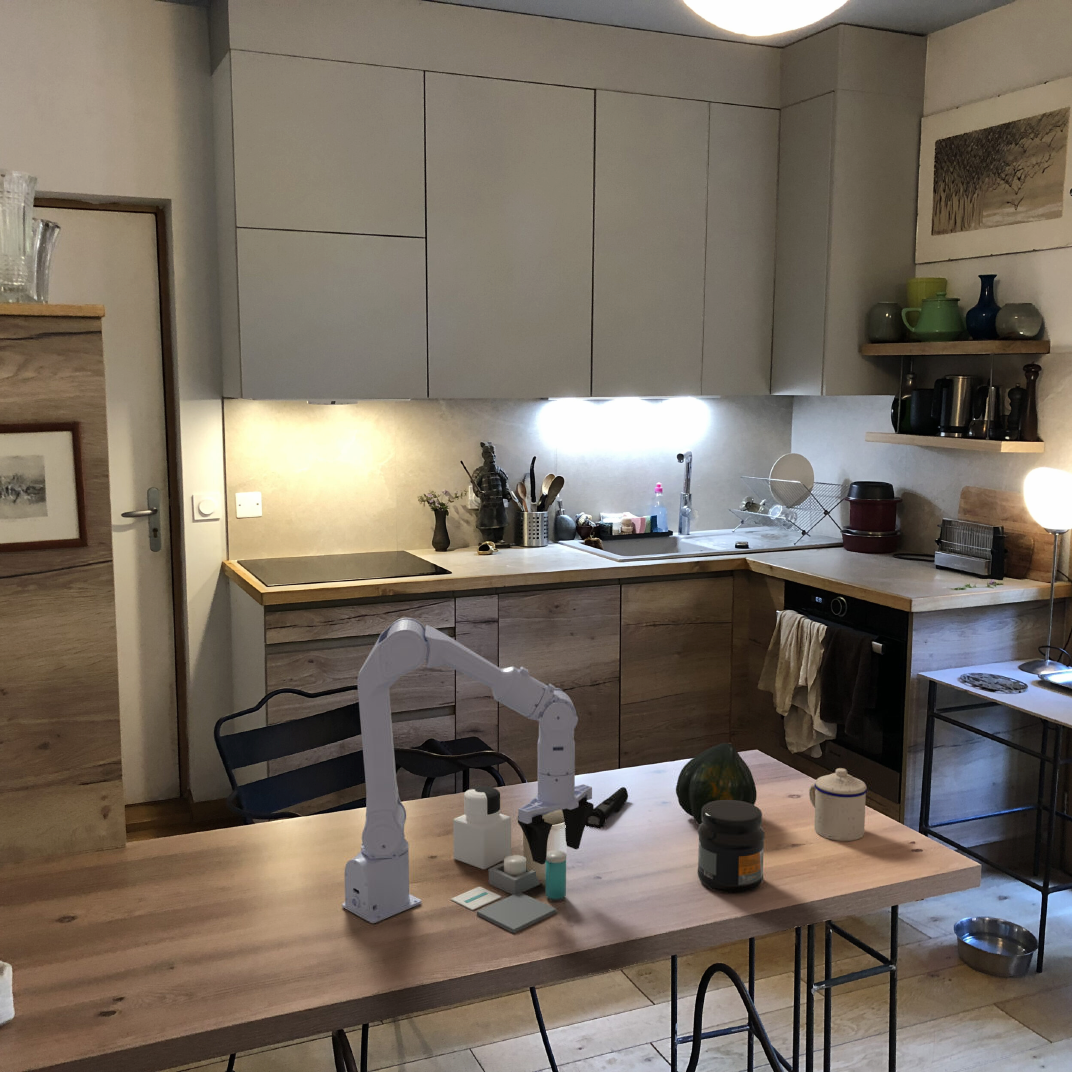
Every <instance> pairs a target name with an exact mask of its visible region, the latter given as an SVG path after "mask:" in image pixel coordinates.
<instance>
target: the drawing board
mask: <svg viewBox="0 0 1072 1072" xmlns="http://www.w3.org/2000/svg"><path fill="white" fill-rule="evenodd" d="M556 913H557V908H555V907H553V906H551V905H549V904H547V903H545V902H542V901H541V900H539V899H535V898H533V897H532V896H529V895H527V894H525V893H524V892H522V893H521V892H518V893H516V894H514V895H512V894H511V895H509V896H508V897H506V898H502V899H501V900H499V901H496V902H494V903H491V904H489V905H487V906H485V907H483V908H479V909H478V910H476V916H478V917H479V918H483V920H486V921H488V922H490V923H493V924H494V925H496V926H498V927H501V928H502V929H504V930H506V931H509V932H511V933H512V934H515V933H517V932H520V931H521V930H524V929H526V928H528V927H529V926H532V925H534V924H536V923H538V922H540V921H542V920H544V919H546V918H548V917H550V916H552V915H554V914H556Z"/></svg>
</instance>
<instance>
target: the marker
mask: <svg viewBox="0 0 1072 1072" xmlns="http://www.w3.org/2000/svg"><path fill="white" fill-rule="evenodd" d="M544 866H545V871H544V872H545V878H544V879H545V880H544V881H545V882H544V883H545V885H544V886H545V887H544V888H545V896H546V897H547V900H548V901H550V902H557V903H558V902H561V901H564V899H565V897H566V895H567V853H566V852H565V851H562V850H556V849H555V850H549V851H547V856H546V862H545V865H544Z"/></svg>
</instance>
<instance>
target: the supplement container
mask: <svg viewBox="0 0 1072 1072" xmlns="http://www.w3.org/2000/svg"><path fill="white" fill-rule="evenodd" d="M762 825H763V812H762V809H760V808H759V807H758V806H756V805H755V804H754V805H752V804H750V803H747V802H743V801H737V800H717V801H712V802H709V803H707V804H705V805H704V806H703V807H702V823H701V824H700V825H699V826H698V828H697V834H698V852H697V853H698V855H697V856H698V857H697V859H698V861H697V876H698V879H699V881H700V882H701V883H702V884H703V885H704V886H705V887H707V888H709V889H711V890H713V891H715V892H720V893H723V894H730V895H731V894H734V895H735V894H737V895H738V893H739V894H747V893H750V892H752V891H755V890H756V889H758V888H759V887H760V886H761V885H762V884H763V880H764V851H765V848H764V846H765V843H764V842H765V838H766V833H765V830H764V828H763V827H762Z"/></svg>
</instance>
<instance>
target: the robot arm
mask: <svg viewBox="0 0 1072 1072" xmlns="http://www.w3.org/2000/svg"><path fill="white" fill-rule="evenodd" d="M425 661H426V668H428V669H430V668H435V667H441V666H447V667H450V668H451V669H453V670H455V671H457V672H459V673H462V674H463V675H465V676H466V677H469V678H471V679H473V680H475V681H477V682H478V683H481V684H483V685H485V686H487V687H488V688H491V691H492V695H493V699H494V700H495V701H496V702H499V703H501V705H504V706H505V707H507V708H509V709H511V710H513V711H515V712H517V714H520V715H521V716H524V717H525V718H527V719H529V720H532V721H533V720H534V721H537V722H538V738H537V795H536V796H535V797H534V798H532V799H531V800H530V801H529V802H527V803H526V804H524V805H523V806H521V807H519V808H517V810H518V815H517V824H518V825H519V827H520V828H521V830H522V832H523V834H524V836H525V838H526V840H527V843H528V847H529V849H530V854H531V858H532V861H533V862H534V863H537V864H539V865H544V864H545V862H546V856H547V852H548V840H549V836H550V832H551V830H552V827H553V823H550V822H547V821H545V818H543V816H546V815H548V814H551V813H553V812H555V811H560V810H561V811H562V815H563V821H564V826H565V825H566V828H565V827H564V832H565V834H564V836H565V844H566V847H568V848H571V849H574V850H579V849H580V846H581V842H582V838H583V833H584V831H585V828H586V823H587V821H588V818H589V817H590V815H591V813H592V812H593V810H594V808H595V807H594V806H595V805H594V803H592V802H590V801H589V800H592V799H593V787H592V786H590V785H588V784H587V785H586V784H580V785H576V784H575V775H576V772H575V771H576V765H575V764H576V758H575V757H576V752H575V751H576V749H575V747H576V745H575V744H576V742H575V741H576V740H574V736H575V728H576V727H577V726H578V722H579V717H578V716H577V711H576V708H575V705H574V703H573V701H572V698H571V697H570V696H569V695H568V694H567V693H566V692H564V690H563V689H561V688H560V687H555V685H553V684H551V683H548V685H547V684H545V683H543V682H542V681H540V680H538V679H536V678H535V677H533V676H531V675H529V674H530V672H529V669H527V668H525V667H524V666H520V668H517V667H515V666H507V667H504V668H500V667H499V666H497V665H496V664H493V663H492V662H491V661H489V660H487V659H486V658H485V657H483V656H482V655H480V654H478V653H476V652H474V651H473V650H472V649H469V648H468V647H467V646H465V645H463V644H462V643H460V642H458V641H457V640H455V639H454V638H452V637H451V636H448V635H447V634H445V633H444V632H442V631H440V630H438V629H436V628H435V627H432V626H431V625H427V624H426V625H424V624H423V623H422V622H421V621H419V620H418V619H415V618H412V617H402V618H399V619H397V620H395V621H394V622H393V623H391V624H390V625H389V626H387V628H385V629H384V630H383V631H382V632H381V633H380V634H379V637H378V639H377V641H375V644H374V646H373V647H372V649H371V650H370V652H369V654H368V655H367V657H366V659H365V661H364V663H363V664H362V666H361V668H360V670H359V672H358V675H357V681H356V682H357V696H358V705H359V706H358V708H359V719H360V720H359V721H360V731H361V732H360V733H361V741H362V742H361V743H362V744H361V745H362V754H363V765H364V766H363V767H364V777H365V778H364V779H365V781H364V782H365V790H366V791H365V792H366V794H365V795H366V799H365V800H366V801H365V803H366V807H365V821H364V826H363V830H362V834H361V841H362V843H361V845H360V851H359V852H358V853H357V854H356V855H355V856H354V857H353V858H351V859H350V860H348V861H347V862H346V864H345V867H344V902H343V903H342V904H341V907H342V908H344V909H346V910H347V911H349V912H351V913H353V914H354V915H356V916H358V917H360V918H361V919H363V920H365V921H367V922H369V923H371V924H376V923H378V922H380V921H383V920H385V919H387V918H390V917H392V916H396V915H397V914H400V913H402V912H404V911H407V910H409V909H411V908H413V907H416V906H419V905H421V904H422V900H421V899H420V898H419V897H416V896H415V895H412V894H411V893H410V859H409V858H410V855H409V854H410V852H409V847H410V846H409V845H410V844H409V841H408V840H406V838H405V824H406V822H407V821H406V820H407V811H406V808H405V805H404V803H402V801H401V799H400V795H399V788H398V782H397V772H396V759H395V747H394V734H393V732H394V731H393V722H392V720H393V719H392V711H391V709H392V708H391V698H390V697H391V696H390V688H391V687H392V686H393V685H394V684H395V683H396V682H397V681H398V680H399V679H400V678H401V676H404V675H407V674H409V673H412V672H413V671H414V670H416V669H418V668H419V667H420V666H422V664H423V663H424V662H425ZM575 785H576V786H575Z"/></svg>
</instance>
